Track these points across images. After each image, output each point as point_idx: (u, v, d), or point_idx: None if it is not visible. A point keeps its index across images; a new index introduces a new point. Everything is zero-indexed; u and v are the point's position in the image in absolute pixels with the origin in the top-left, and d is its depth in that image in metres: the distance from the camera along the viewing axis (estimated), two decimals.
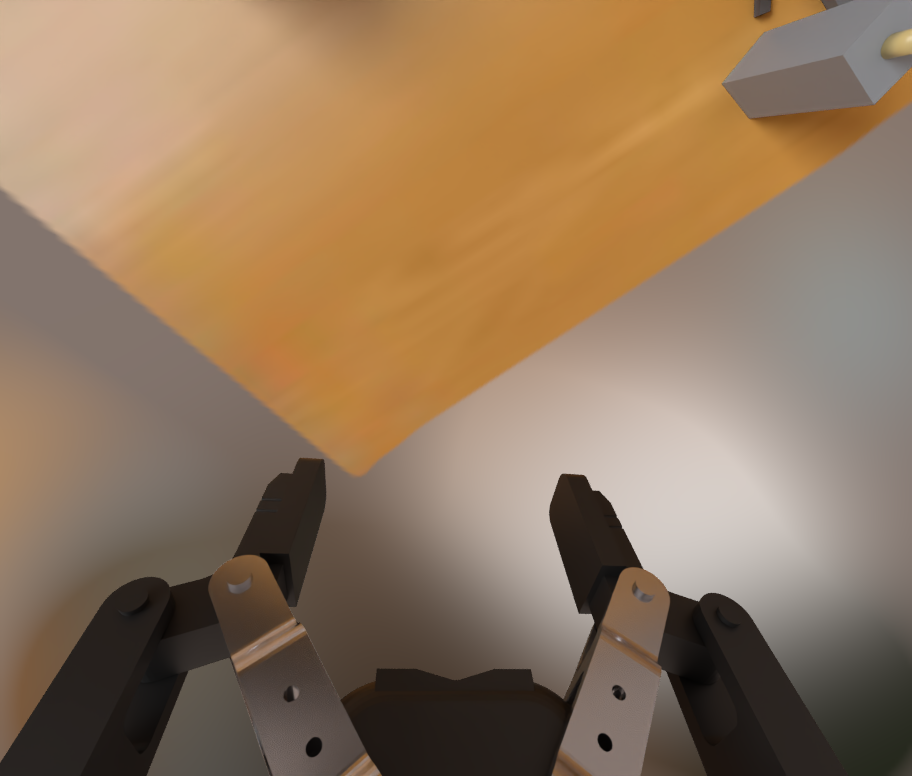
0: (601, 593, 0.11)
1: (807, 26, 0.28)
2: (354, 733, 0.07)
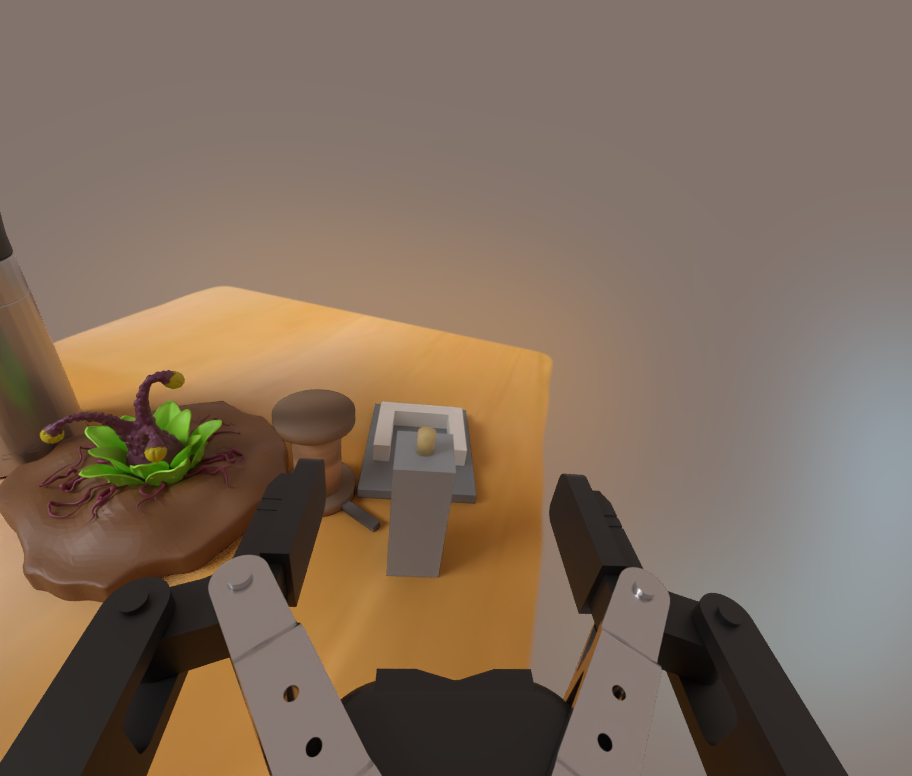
0: (601, 593, 0.11)
1: None
2: (354, 733, 0.07)
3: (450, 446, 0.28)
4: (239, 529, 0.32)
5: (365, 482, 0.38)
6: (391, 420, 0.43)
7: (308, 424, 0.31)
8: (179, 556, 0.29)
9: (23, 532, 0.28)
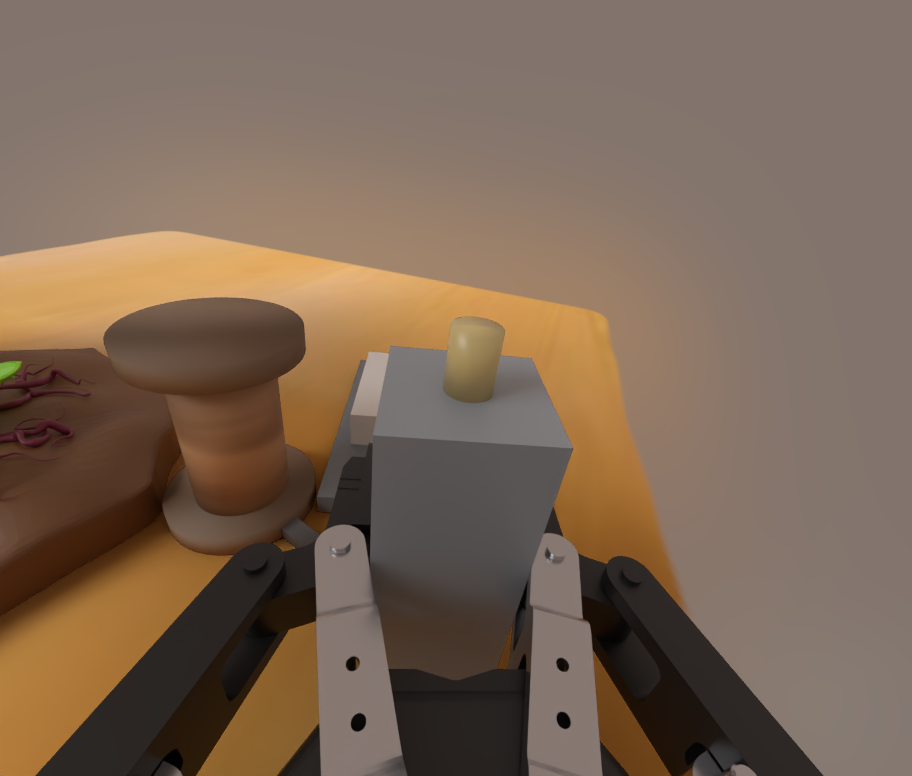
0: None
1: None
2: (395, 727, 0.07)
3: (533, 382, 0.10)
4: None
5: (333, 483, 0.20)
6: None
7: (186, 348, 0.14)
8: None
9: None
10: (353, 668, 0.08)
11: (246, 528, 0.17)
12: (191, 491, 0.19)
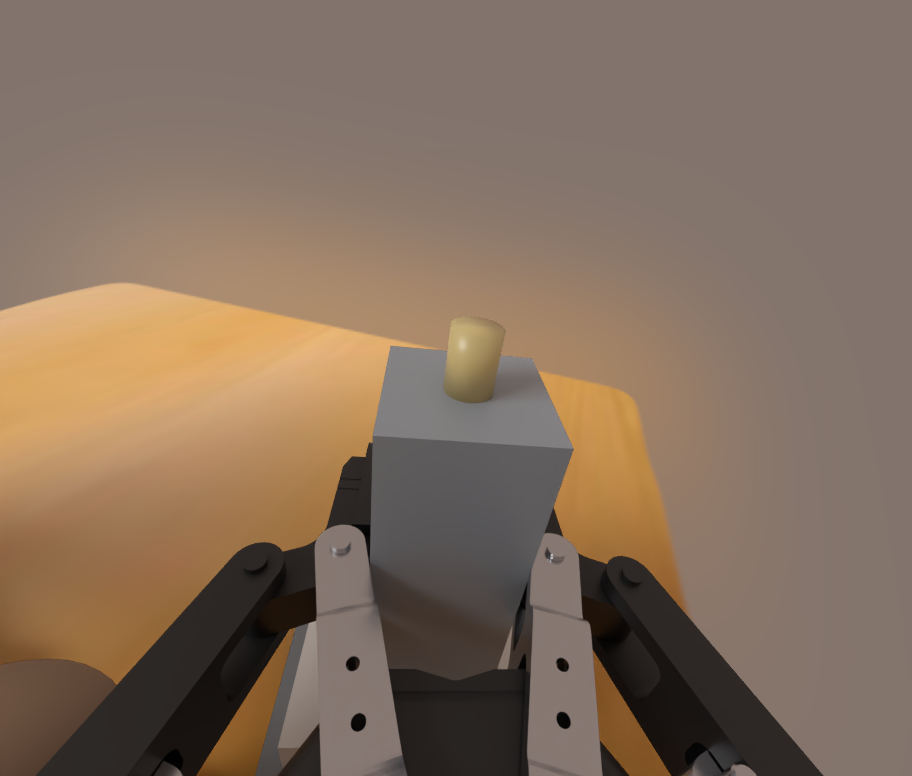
0: None
1: None
2: (395, 727, 0.07)
3: (534, 382, 0.10)
4: None
5: None
6: None
7: None
8: None
9: None
10: (353, 668, 0.08)
11: None
12: None
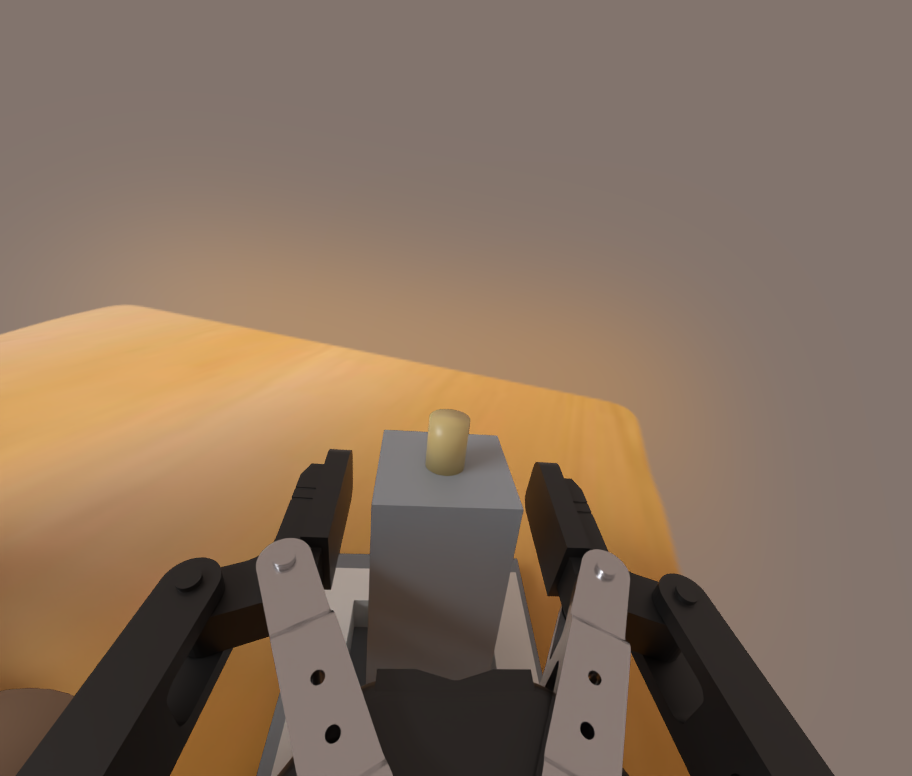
0: (567, 575, 0.11)
1: None
2: (372, 728, 0.07)
3: (497, 456, 0.13)
4: None
5: None
6: None
7: None
8: None
9: None
10: (318, 682, 0.07)
11: None
12: None
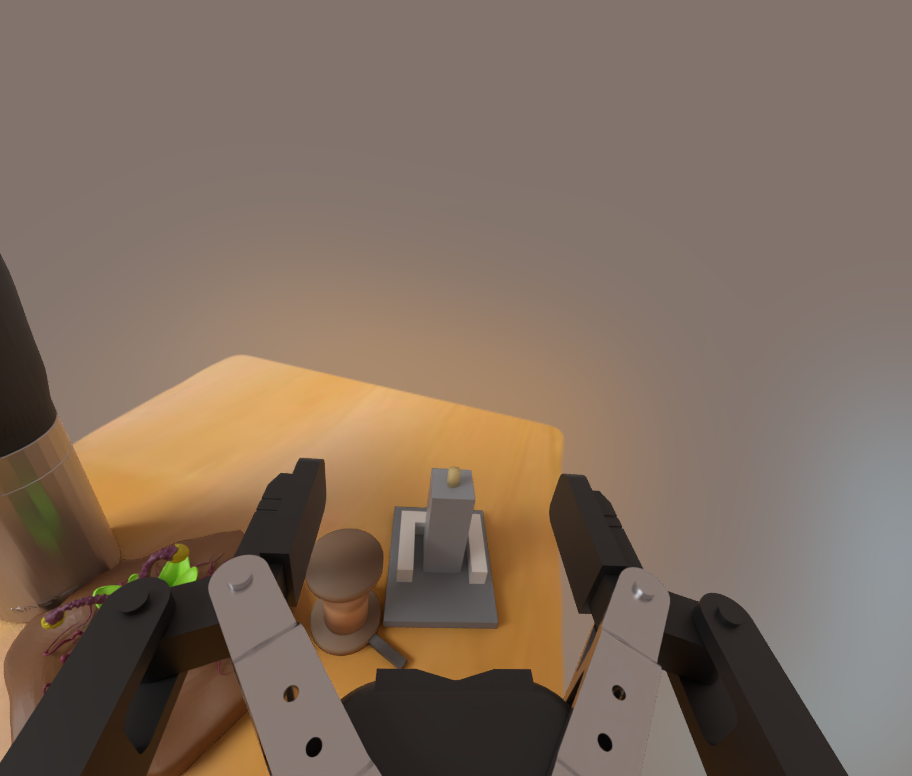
0: (601, 593, 0.11)
1: (426, 515, 0.43)
2: (354, 733, 0.07)
3: (470, 479, 0.40)
4: (223, 727, 0.30)
5: (390, 611, 0.39)
6: (412, 535, 0.44)
7: (340, 580, 0.33)
8: (154, 772, 0.27)
9: (15, 721, 0.28)
10: (291, 698, 0.07)
11: (353, 642, 0.36)
12: (322, 620, 0.38)
